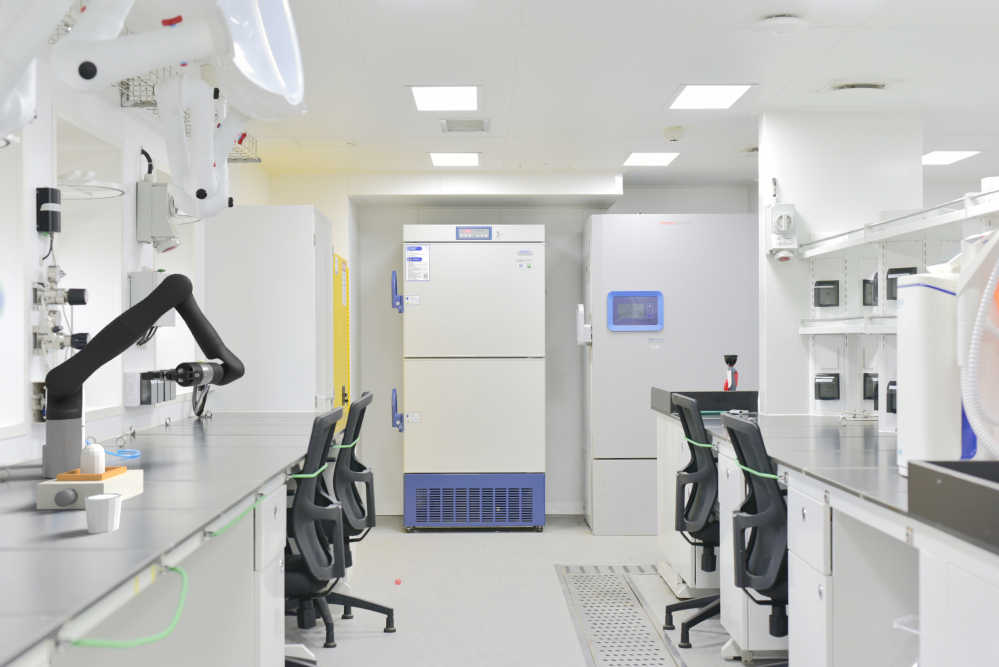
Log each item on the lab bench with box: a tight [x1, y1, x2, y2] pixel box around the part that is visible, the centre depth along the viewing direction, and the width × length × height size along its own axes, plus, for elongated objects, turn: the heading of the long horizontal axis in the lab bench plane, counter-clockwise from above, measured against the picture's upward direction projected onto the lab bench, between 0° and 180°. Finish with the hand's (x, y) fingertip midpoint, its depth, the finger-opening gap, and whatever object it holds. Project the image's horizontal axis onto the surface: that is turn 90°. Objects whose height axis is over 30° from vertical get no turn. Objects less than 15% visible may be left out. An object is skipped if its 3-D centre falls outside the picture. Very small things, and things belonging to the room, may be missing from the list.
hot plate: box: [36, 466, 144, 510], centre depth 170 cm, size 16×21×8 cm
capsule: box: [80, 443, 106, 474], centre depth 172 cm, size 5×5×8 cm
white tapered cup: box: [85, 493, 123, 534], centre depth 144 cm, size 7×7×7 cm
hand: (155, 376), depth 196 cm, fingers open, 8 cm apart
